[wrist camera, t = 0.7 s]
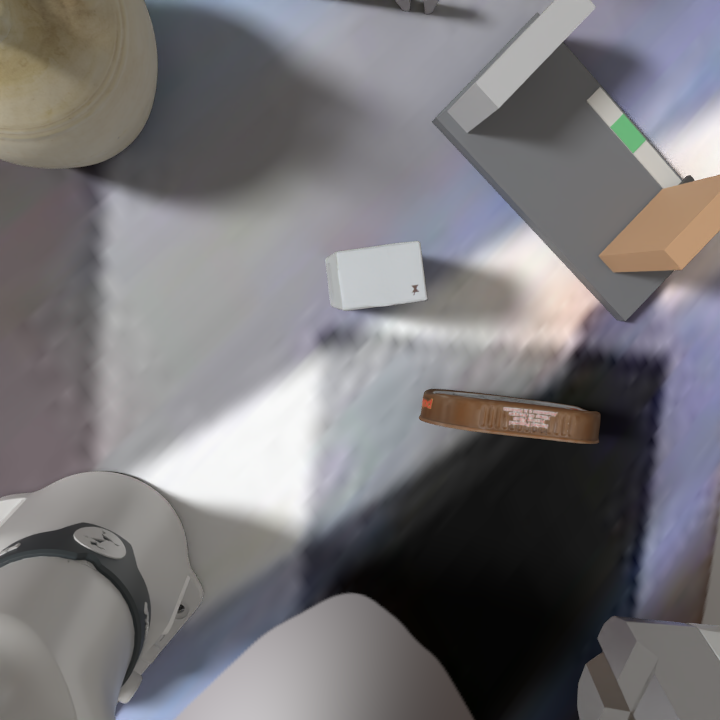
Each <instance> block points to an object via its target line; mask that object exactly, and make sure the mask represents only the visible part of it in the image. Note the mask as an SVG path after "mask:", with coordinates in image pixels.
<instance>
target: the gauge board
mask: <svg viewBox="0 0 720 720" xmlns="http://www.w3.org/2000/svg"><path fill="white" fill-rule="evenodd" d="M595 8H596V7H595V6H594V4H593V3H592V2H591V1H590V0H555V1H554V2H553V3H552V4H551V5H550V6H549V7H548V8H547V9H546V10H545V11H544V12H543V13H542V14H541V15H539V14H538V12H537V13H536V14H535V15H534V16H533V17H532V18H531V19H530V21H529V22H528V23H527V24H526V25H525V26H524V27H523V28H522V29H521V30H520V31H519V32H518V33H517V34H516V35H515V36H514V37H513V38H512V39H511V40H510V41H509V42H508V43H507V44H506V45H505V46H504V47H503V49H502V50H501V51H500V52H499V53H498V54H497V55H496V56H495V57H494V58H493V59H492V60H491V61H490V62H489V63H488V64H487V65H486V66H485V67H484V68H483V69H482V70H481V71H480V72H479V73H478V74H477V75H476V77H475V78H474V79H473V80H472V81H471V82H470V83H469V84H468V85H467V86H466V87H465V88H464V89H463V90H462V91H461V92H460V93H459V94H458V95H457V96H456V97H455V98H454V99H453V100H452V101H451V102H450V103H449V105H448V106H447V107H446V108H445V109H444V110H443V111H442V112H441V113H440V114H439V115H438V116H437V117H436V118H435V119H434V120H433V121H432V123H433V124H434V125H435V126H436V127H437V128H438V129H439V130H440V131H441V132H442V133H443V134H444V135H445V136H446V138H447V139H448V140H449V141H450V142H451V143H452V144H453V145H454V146H455V147H456V148H457V149H458V150H459V151H460V153H461V154H462V155H463V156H464V157H465V158H466V159H467V160H468V161H469V162H470V163H471V164H472V165H473V166H474V168H475V169H476V170H477V171H478V172H479V173H480V174H481V175H482V176H483V177H484V178H485V179H486V180H487V181H488V183H489V184H490V185H491V186H492V187H493V188H494V189H495V190H496V191H497V192H498V193H499V194H500V195H501V196H502V198H503V199H504V200H505V201H506V202H507V203H508V204H509V205H510V206H511V207H512V208H513V209H514V210H515V211H516V213H517V214H518V215H519V216H520V217H521V218H522V219H523V220H524V221H525V222H526V223H527V224H528V225H529V226H530V228H531V229H532V230H533V231H534V232H535V233H536V234H537V235H538V236H539V237H540V238H541V239H542V240H543V241H544V243H545V244H546V245H547V246H548V247H549V248H550V249H551V250H552V251H553V252H554V253H555V254H556V255H557V256H558V258H559V259H560V260H561V261H562V262H563V263H564V264H565V265H566V266H567V267H568V268H569V269H570V270H571V271H572V273H573V274H574V275H575V276H576V277H577V278H578V279H579V280H580V281H581V282H582V283H583V284H584V285H585V286H586V288H587V289H588V290H589V291H590V292H591V293H592V294H593V295H594V296H595V297H596V298H597V299H598V300H599V301H600V303H601V304H602V305H603V306H604V307H605V308H606V309H607V310H608V311H609V312H610V313H611V314H612V315H613V316H614V318H615V319H616V320H619V321H626V320H627V319H628V318H629V317H630V316H631V315H632V314H633V313H634V312H635V311H636V310H637V309H638V308H639V307H640V306H641V305H642V303H643V302H644V301H645V300H646V299H647V298H648V297H649V296H650V295H651V294H652V293H653V292H654V291H655V290H656V289H657V288H658V287H659V286H660V285H661V284H662V283H663V282H664V280H665V279H666V278H667V277H668V276H669V275H670V274H671V273H672V272H673V271H674V270H666V271H639V272H612V270H611V269H610V268H609V267H608V266H607V265H606V264H605V263H604V262H603V261H602V260H601V258H600V257H599V255H600V254H601V253H602V252H603V250H604V249H605V248H606V247H607V246H608V245H609V244H610V243H611V242H612V241H613V240H614V239H615V238H616V237H617V236H618V235H619V234H620V233H621V232H622V231H623V230H624V229H625V228H626V226H627V225H628V224H629V223H630V222H631V221H632V220H633V219H634V218H635V217H636V216H637V215H638V214H639V213H640V212H641V211H642V210H643V209H644V208H645V207H646V206H647V205H648V204H649V202H650V201H651V200H652V199H653V198H654V197H655V196H656V195H657V194H658V193H659V192H660V191H661V190H662V189H664V188H668V187H672V186H676V185H679V184H680V183H681V182H682V178H681V177H680V176H679V175H678V174H677V173H676V172H675V170H674V169H673V168H672V167H671V166H670V165H669V163H668V162H667V161H666V160H665V159H664V158H663V157H662V155H661V154H660V153H659V152H658V151H657V150H656V148H655V147H654V146H653V145H652V144H651V143H650V142H649V140H648V139H647V138H646V137H645V136H644V135H643V134H642V132H641V131H640V130H639V129H638V128H637V127H636V125H635V124H634V123H633V122H632V121H631V120H630V119H629V117H628V116H627V115H626V114H625V113H624V112H623V110H622V109H621V108H620V107H619V106H618V105H617V104H616V102H615V101H614V100H613V99H612V98H611V97H610V95H609V94H608V93H607V92H606V91H605V90H604V89H603V87H602V86H601V85H600V84H599V83H598V82H597V80H596V79H595V78H594V77H593V76H592V75H591V74H590V72H589V71H588V70H587V69H586V68H585V67H584V65H583V64H582V63H581V62H580V61H579V60H578V59H577V57H576V56H575V55H574V54H573V53H572V52H571V51H570V49H569V48H568V47H567V46H566V45H565V44H564V42H563V41H564V40H565V39H566V38H567V37H568V36H569V35H570V34H571V33H572V32H573V31H574V30H575V29H576V28H577V27H578V26H579V25H580V23H581V22H582V21H583V20H584V19H585V18H586V17H587V16H588V15H589V14H590V13H591V12H592V11H593V10H594V9H595Z"/></svg>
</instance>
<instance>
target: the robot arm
mask: <svg viewBox="0 0 720 720" xmlns="http://www.w3.org/2000/svg"><path fill="white" fill-rule="evenodd" d="M202 599H203V588H202V586H201V584H200V582H199V580H198V578H197V576H196V575H195V573H194V571H193V570H192V568H191V566H190V563H189V558H188V548H187V541H186V536H185V532H184V529H183V526H182V524H181V521H180V519H179V517H178V515H177V514H176V512H175V510H174V509H173V508H172V506H171V505H170V504H169V502H168V501H167V500H166V499H165V498H164V497H163V496H162V495H161V494H160V493H158V492H157V491H156V490H155V489H153V488H152V487H150V486H149V485H147V484H145V483H144V482H142V481H140V480H137V479H135V478H132V477H130V476H127V475H123V474H119V473H113V472H100V471H96V472H85V473H80V474H75V475H72V476H68V477H66V478H63V479H61V480H58V481H56V482H54V483H53V484H51V485H49V486H47V487H45V488H43V489H41V490H39V491H36V492H33V493H22V494H14V495H8V496H4V497H1V498H0V720H116V718H115V710H116V706H117V703H118V702H119V701H120V702H121V703H123V704H124V703H125V704H126V703H127V702H128V701H129V700H130V699H131V698H132V697H133V695H134V694H135V692H136V691H137V689H138V687H139V686H140V684H141V681H142V677H141V675H142V674H143V672H144V671H145V670H146V669H147V668H148V666H149V665H150V664H151V663H152V662H153V661H154V660H155V659H156V657H157V656H158V655H159V653H160V652H161V651H162V650H163V649H164V647H165V646H166V645H167V644H168V643H169V641H170V640H171V639H172V638H173V637H174V636H175V634H176V633H177V632H178V631H179V630H180V628H181V627H182V626H183V625H184V624H185V622H186V621H187V620H188V619H189V618H190V617H191V615H192V614H193V613H194V612H195V611H196V609H197V608H198V607H199V605H200V603H201V601H202ZM180 604H181V605H183V606H184V609H182V610H178V609H179V606H180ZM597 639H598V641H599V644H600V646H601V649H602V651H603V652H602V653H601V654H599V655H598V656H596V657H595V658H594V659H592V660H591V661H589V662H588V663H586V665H585V667H584V670H583V672H582V675H581V678H580V680H579V683H578V699H577V707H578V713H579V718H580V720H720V626H715V625H704V624H693V623H686V624H683V623H678V622H668V621H658V620H648V619H638V618H628V617H618V616H613V617H611V618H610V619H609V620H608V621H607V622H606V623H604V625H603V627H602V629H601V632H600V634H599V636H598V638H597Z"/></svg>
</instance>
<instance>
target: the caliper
mask: <svg viewBox="0 0 720 720" xmlns="http://www.w3.org/2000/svg"><path fill="white" fill-rule="evenodd" d="M395 1H396V2H397V3H398V5H399V6H400V7H401V9H402V10H403V11H408V12H410V2H411V0H395ZM438 1H439V0H424V8H425V14H430V13H432V11H433V10H434V8H435V7H436V5H437V3H438Z"/></svg>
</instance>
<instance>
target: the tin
mask: <svg viewBox="0 0 720 720" xmlns="http://www.w3.org/2000/svg"><path fill="white" fill-rule="evenodd" d="M600 417H601V416H600V413H599V412H597V411H587V410H584V409H582V408H580V407H577V406H572V405H565V404H559V403H552V402H544V401H537V400H529V399H522V398H514V397H507V396H499V395H491V394H482V393H473V392H463V391H453V390H441V389H429V390H426V391H425V393H424V396H423V401H422V410H421V415H420V416H419V419H420V420H421V421H424V422H427V423H430V424H434V425H439V426H443V427H449V428H455V429H460V430H467V431H475V432H483V433H492V434H500V435H509V436H518V437H527V438H536V439H545V440H554V441H563V442H572V443H585V444H596V443H599V439H598V435H599V428H600Z"/></svg>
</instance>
